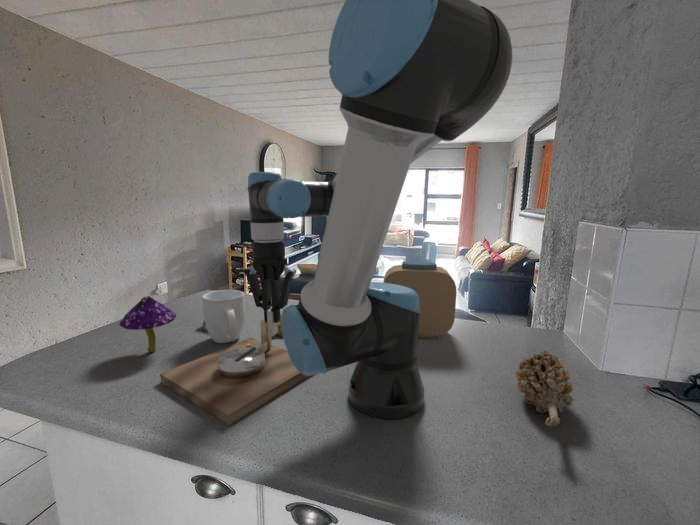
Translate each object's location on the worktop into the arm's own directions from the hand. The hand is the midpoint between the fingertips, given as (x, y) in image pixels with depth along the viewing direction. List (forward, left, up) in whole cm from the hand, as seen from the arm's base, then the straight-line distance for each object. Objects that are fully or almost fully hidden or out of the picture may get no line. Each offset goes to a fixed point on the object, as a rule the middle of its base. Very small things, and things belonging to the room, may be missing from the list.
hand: (273, 333), depth 82 cm
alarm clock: (-22, -36, -6) cm, 43 cm away
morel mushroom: (-58, -13, -6) cm, 60 cm away
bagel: (+11, -14, -7) cm, 19 cm away
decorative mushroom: (+28, +17, -6) cm, 33 cm away
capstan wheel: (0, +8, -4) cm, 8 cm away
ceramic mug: (+30, -5, -7) cm, 31 cm away
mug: (+19, +1, -6) cm, 20 cm away
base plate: (-1, +11, -6) cm, 12 cm away
